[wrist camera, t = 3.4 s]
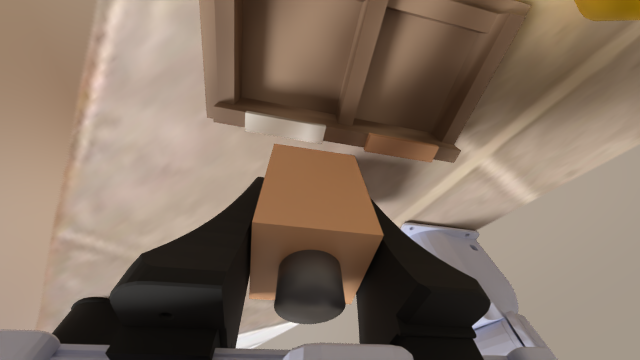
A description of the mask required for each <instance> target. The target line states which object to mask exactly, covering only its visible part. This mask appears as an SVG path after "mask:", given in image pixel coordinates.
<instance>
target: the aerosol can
mask: <svg viewBox="0 0 640 360" xmlns="http://www.w3.org/2000/svg"><path fill="white" fill-rule="evenodd" d="M121 327H122V323H121V322H120V320H119V318H118V316H117V314H116V313H115V311H114V309H113V307H112V305H111V302H110V299H103V298H87V299H82V300H79V301H77V302H76V303H74V304H73V306H72V308H71V311H70V312H69V314H68V315H67V316H66V317H65V318H64V320H63V321H62V322H61V323H60V324H59V326H58V327H57V328H56V329H55V330H54V332H53V333H52V334H53V335H55V336H56V337H57V338H58V339H59V341H60V344H82V345H110V344H111V343H112V341H113V340H114V338H115V336H116V335H117V333H118V332H119V330H120V328H121Z"/></svg>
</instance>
